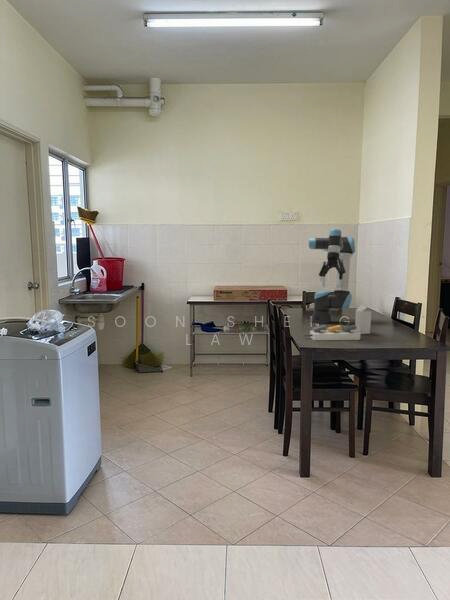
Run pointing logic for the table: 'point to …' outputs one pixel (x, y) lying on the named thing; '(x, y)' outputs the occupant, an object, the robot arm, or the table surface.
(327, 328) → the rocker mid
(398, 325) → the table surface
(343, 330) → the rocker
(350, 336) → the power strip
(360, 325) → the milk carton
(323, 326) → the rocker
